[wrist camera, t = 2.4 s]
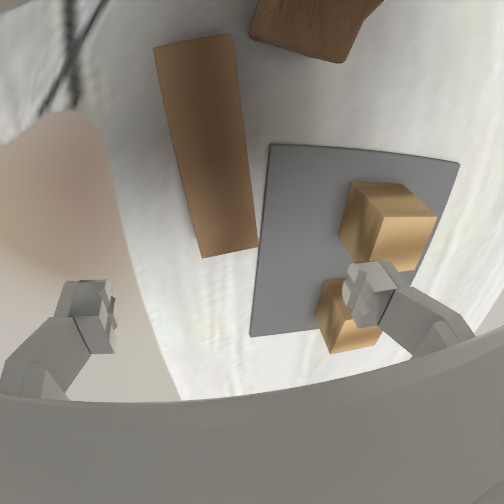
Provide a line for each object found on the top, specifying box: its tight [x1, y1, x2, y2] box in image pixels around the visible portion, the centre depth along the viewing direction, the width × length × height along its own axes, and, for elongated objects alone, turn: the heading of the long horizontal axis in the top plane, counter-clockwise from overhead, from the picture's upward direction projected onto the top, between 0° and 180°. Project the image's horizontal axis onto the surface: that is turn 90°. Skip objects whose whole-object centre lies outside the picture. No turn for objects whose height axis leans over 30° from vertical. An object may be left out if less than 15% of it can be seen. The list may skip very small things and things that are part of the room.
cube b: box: [314, 277, 383, 354], centre depth 29 cm, size 5×5×5 cm
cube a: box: [338, 181, 437, 272], centre depth 23 cm, size 5×5×5 cm
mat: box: [250, 144, 460, 337], centre depth 28 cm, size 20×18×1 cm
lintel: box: [153, 34, 259, 258], centre depth 19 cm, size 4×14×3 cm, turn 7°
